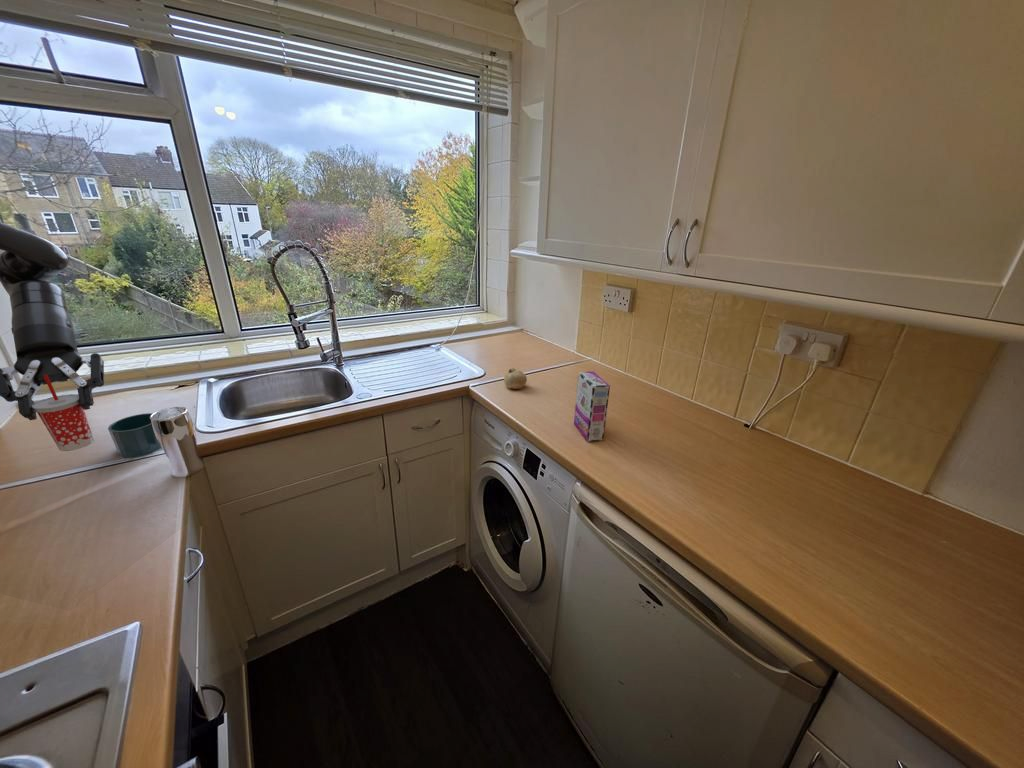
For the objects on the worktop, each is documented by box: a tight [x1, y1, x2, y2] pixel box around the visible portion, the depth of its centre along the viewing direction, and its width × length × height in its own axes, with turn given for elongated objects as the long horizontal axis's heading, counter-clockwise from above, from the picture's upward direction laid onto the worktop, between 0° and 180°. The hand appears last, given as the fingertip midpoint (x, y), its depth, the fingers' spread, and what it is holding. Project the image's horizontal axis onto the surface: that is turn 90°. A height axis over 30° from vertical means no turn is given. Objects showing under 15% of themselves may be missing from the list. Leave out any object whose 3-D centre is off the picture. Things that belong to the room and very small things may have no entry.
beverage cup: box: [32, 374, 95, 452], centre depth 73 cm, size 6×6×14 cm
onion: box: [503, 367, 528, 390], centre depth 142 cm, size 8×8×7 cm
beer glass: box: [150, 406, 205, 478], centre depth 92 cm, size 7×7×15 cm
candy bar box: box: [573, 371, 611, 443], centre depth 111 cm, size 11×5×16 cm, turn 12°
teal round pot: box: [107, 412, 162, 458], centre depth 101 cm, size 10×10×8 cm
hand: (58, 412), depth 71 cm, fingers closed on beverage cup, 6 cm apart
